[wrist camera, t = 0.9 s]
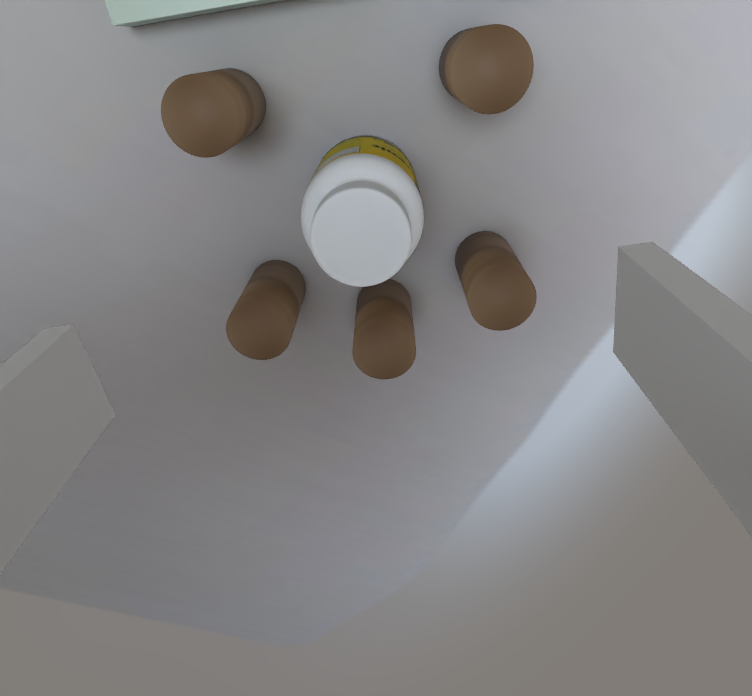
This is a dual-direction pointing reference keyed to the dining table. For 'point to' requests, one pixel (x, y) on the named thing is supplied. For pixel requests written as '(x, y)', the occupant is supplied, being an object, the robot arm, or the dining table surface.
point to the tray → (168, 9)
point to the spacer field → (388, 299)
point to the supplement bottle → (362, 211)
